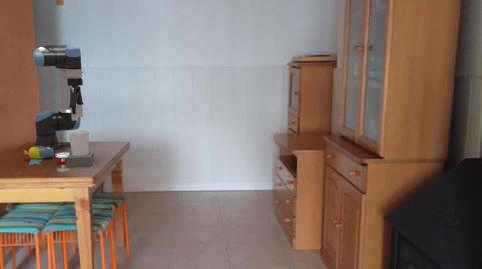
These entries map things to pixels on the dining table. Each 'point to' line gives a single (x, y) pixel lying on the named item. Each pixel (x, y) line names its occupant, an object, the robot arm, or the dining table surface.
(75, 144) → the candle holder
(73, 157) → the block
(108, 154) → the dining table surface
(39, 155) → the yellow and blue toy
